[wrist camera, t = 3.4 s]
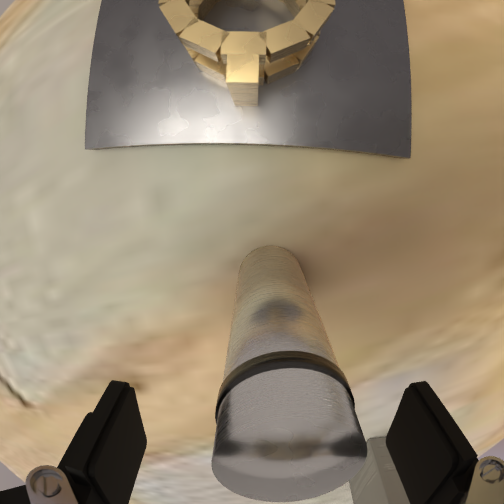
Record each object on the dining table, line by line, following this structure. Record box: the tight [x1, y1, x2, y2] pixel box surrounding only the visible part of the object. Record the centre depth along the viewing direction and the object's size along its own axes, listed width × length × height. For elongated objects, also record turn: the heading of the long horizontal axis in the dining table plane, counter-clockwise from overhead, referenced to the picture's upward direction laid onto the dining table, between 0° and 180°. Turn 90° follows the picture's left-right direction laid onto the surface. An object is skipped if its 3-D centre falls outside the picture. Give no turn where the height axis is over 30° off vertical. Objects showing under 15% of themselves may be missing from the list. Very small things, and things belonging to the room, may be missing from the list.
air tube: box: [212, 246, 367, 502], centre depth 15 cm, size 5×5×16 cm
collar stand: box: [85, 0, 411, 158], centre depth 15 cm, size 22×16×8 cm
